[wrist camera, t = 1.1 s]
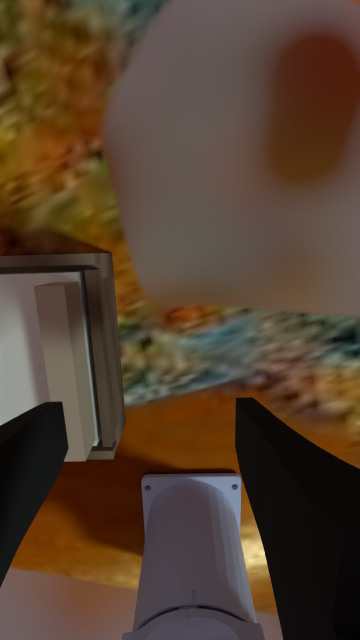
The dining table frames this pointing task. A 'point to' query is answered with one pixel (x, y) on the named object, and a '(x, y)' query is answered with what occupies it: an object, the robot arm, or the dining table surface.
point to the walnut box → (91, 333)
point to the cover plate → (49, 353)
